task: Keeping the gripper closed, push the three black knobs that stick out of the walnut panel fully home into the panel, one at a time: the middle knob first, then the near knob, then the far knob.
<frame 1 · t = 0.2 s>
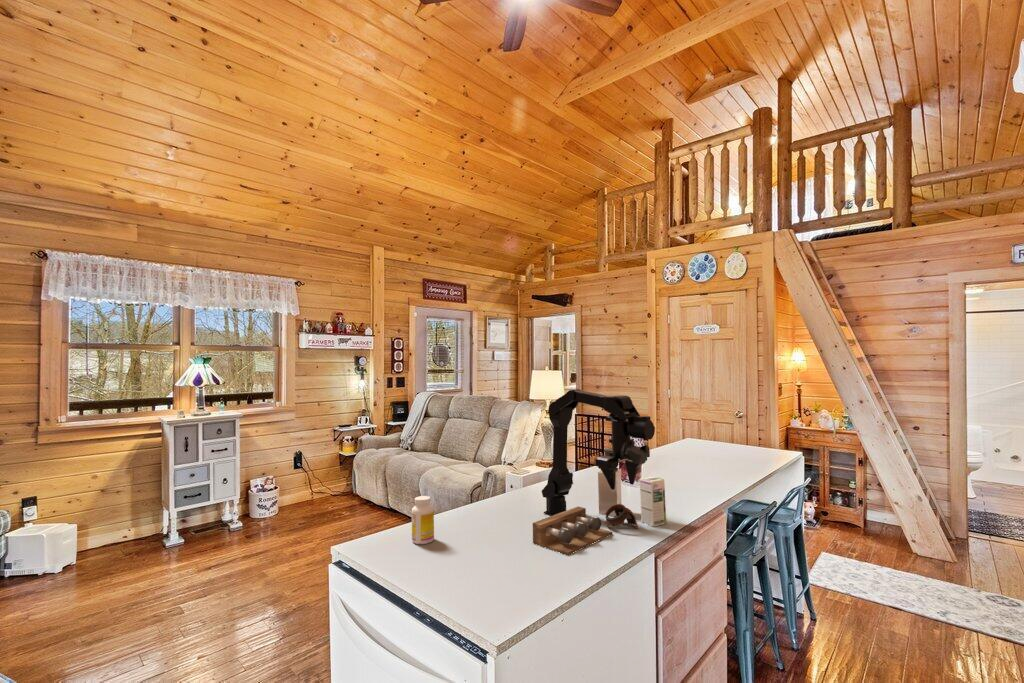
hand: (622, 486, 147), 14 cm above the counter, tool pointing down, fingers open, 9 cm apart
knob near: (558, 533, 138), point 4 cm above the counter, slide at 3.5 cm
supplement bottle: (423, 541, 143), on the counter
knob far: (587, 521, 148), point 4 cm above the counter, slide at 3.5 cm
panel: (560, 534, 146), on the counter
knob middle: (573, 527, 143), point 4 cm above the counter, slide at 3.5 cm
pottery mug: (621, 527, 153), on the counter
soap dispenser: (611, 512, 169), on the counter
syrup box: (653, 523, 156), on the counter
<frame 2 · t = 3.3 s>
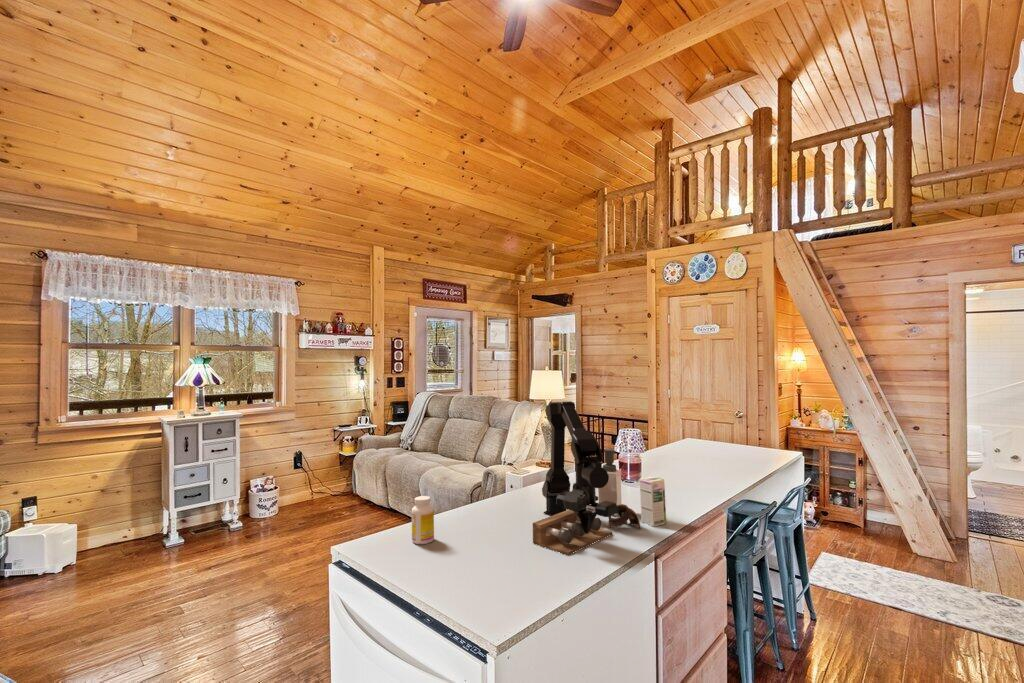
hand: (586, 533, 140), 3 cm above the counter, tool pointing down, fingers closed
knob middle: (571, 526, 144), point 4 cm above the counter, slide at 2.8 cm, touching gripper
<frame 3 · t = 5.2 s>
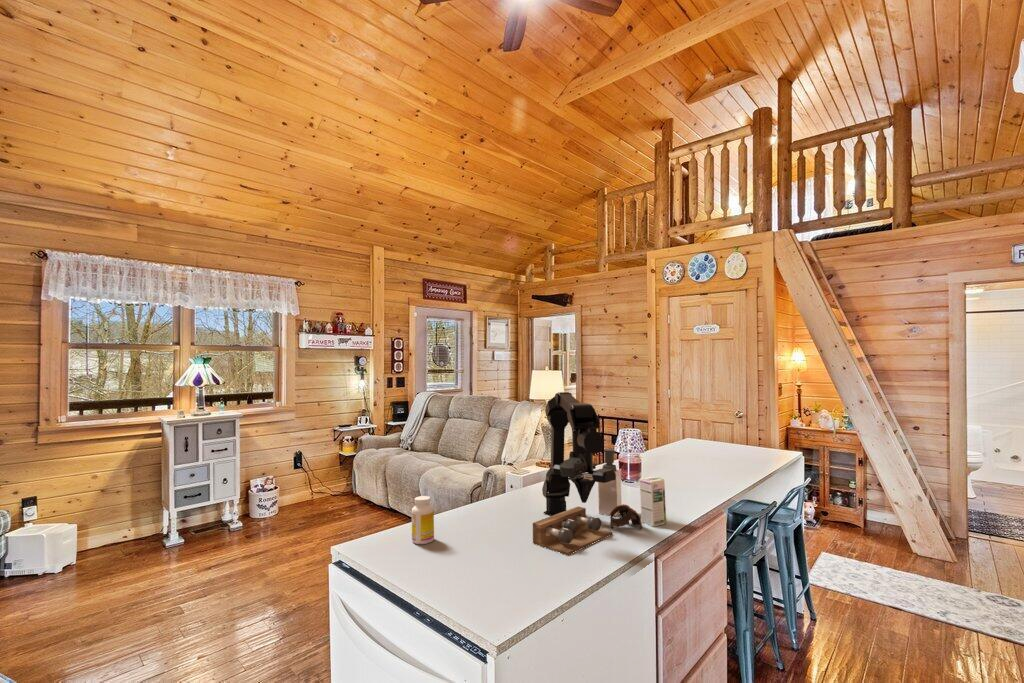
hand: (584, 502, 137), 13 cm above the counter, tool pointing down, fingers closed
knob middle: (564, 524, 146), point 4 cm above the counter, slide at 0.0 cm
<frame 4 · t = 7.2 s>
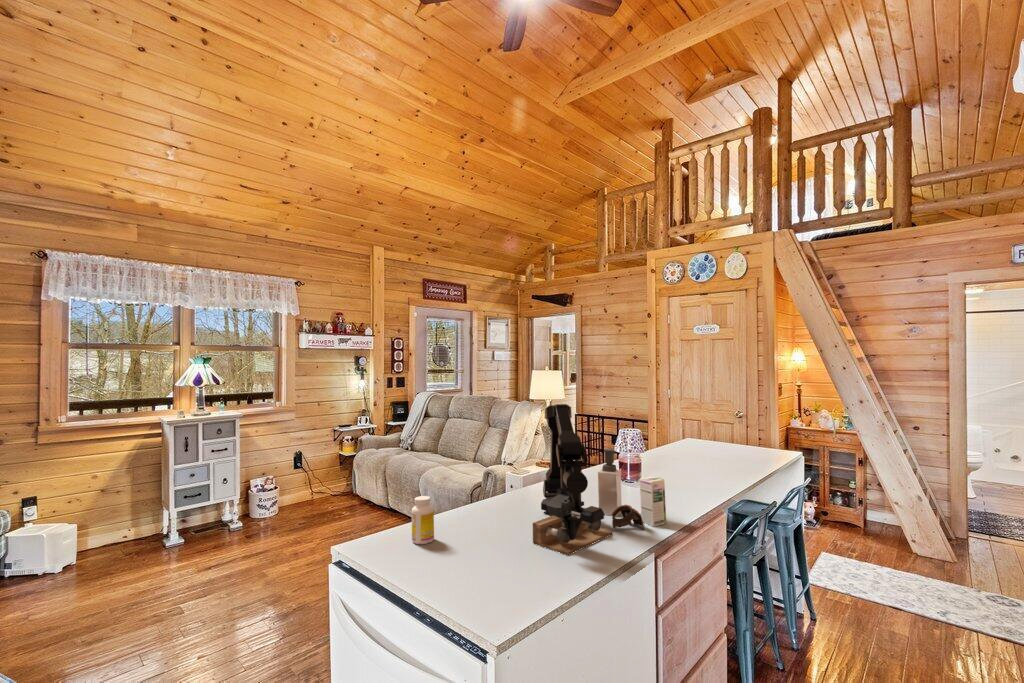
hand: (572, 539, 135), 3 cm above the counter, tool pointing down, fingers closed
knob near: (556, 532, 139), point 4 cm above the counter, slide at 2.9 cm, touching gripper
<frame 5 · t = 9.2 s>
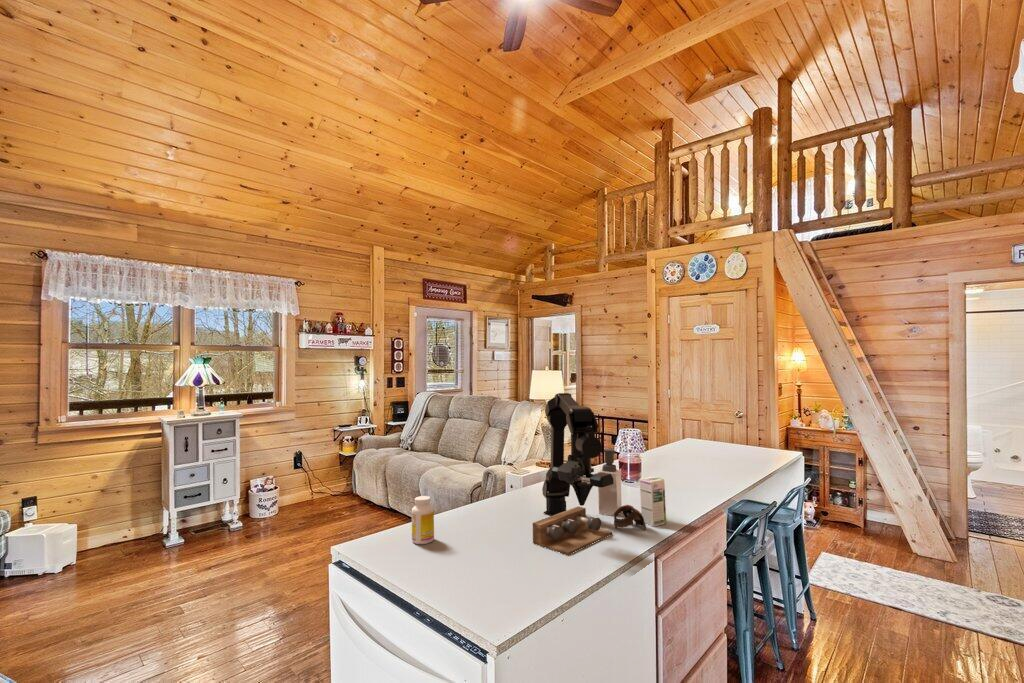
hand: (581, 505, 138), 12 cm above the counter, tool pointing down, fingers closed
knob near: (549, 530, 141), point 4 cm above the counter, slide at 0.0 cm
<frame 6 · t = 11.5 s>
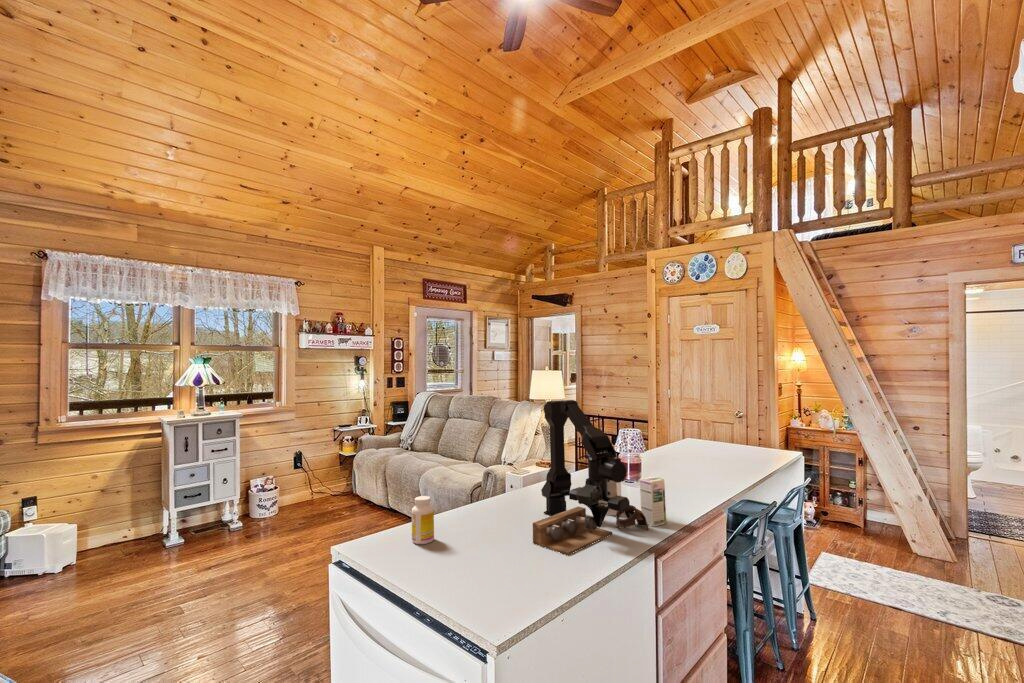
hand: (599, 526, 145), 3 cm above the counter, tool pointing down, fingers closed
knob far: (584, 520, 149), point 4 cm above the counter, slide at 2.4 cm, touching gripper
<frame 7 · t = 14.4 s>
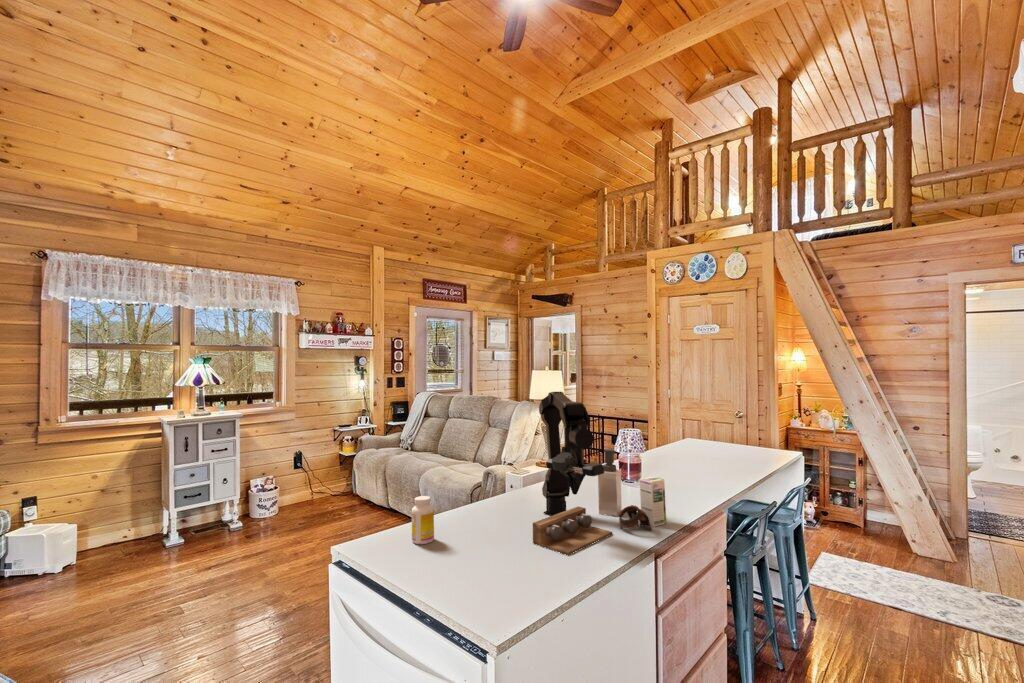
hand: (574, 494, 147), 12 cm above the counter, tool pointing down, fingers closed
knob far: (577, 518, 151), point 4 cm above the counter, slide at -0.1 cm
at the end: knob middle slide at 0.0 cm; knob near slide at 0.0 cm; knob far slide at -0.1 cm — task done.
